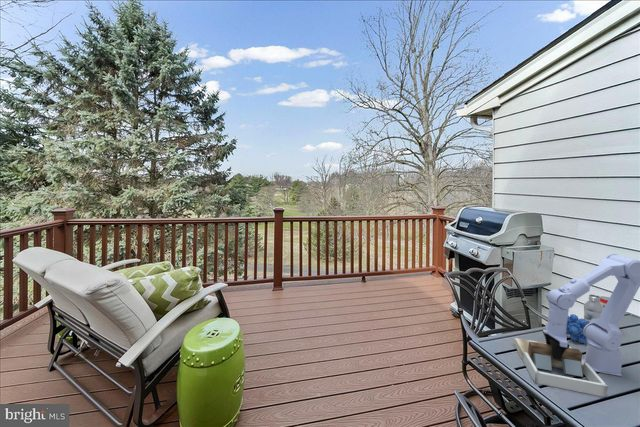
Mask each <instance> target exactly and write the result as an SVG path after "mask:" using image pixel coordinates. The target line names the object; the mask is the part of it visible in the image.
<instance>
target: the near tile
mask: <svg viewBox="0 0 640 427" xmlns="http://www.w3.org/2000/svg"><path fill="white" fill-rule="evenodd" d="M562 364H563V370H562V371H563V374H564V375H570V376H574V377H579V378H580V377H582V378H583V377H584V373H583V372H582V368H581V362H580V361H575V360H569V359H562Z"/></svg>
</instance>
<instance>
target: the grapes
mask: <svg viewBox="0 0 640 427" xmlns="http://www.w3.org/2000/svg"><path fill="white" fill-rule="evenodd" d="M586 325H587V321H586V320H584V318H579V316H578V315H576V314H575V313H573V314H571V313H570V315H568V320H567V329H566V336H569V338H570V339H571V340H572V341H574V342H578V341H579V342H580V343H582V344H587V342H588V341H587V340H586V338H587V337H586V336H585V335H584V333H583V329H584V327H585V326H586Z"/></svg>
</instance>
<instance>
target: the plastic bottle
mask: <svg viewBox="0 0 640 427" xmlns="http://www.w3.org/2000/svg"><path fill="white" fill-rule="evenodd" d="M600 297H601V296H600V295H595V294H589V295H588V300H587V301H586V302H585V303H584V304H583V319H584V320H586V321H587V324H589V322H590V321H591V319H596V318H599V317H600V315H601V313H602V311H603V307H602V305H601V304H600V303H599V302H600Z"/></svg>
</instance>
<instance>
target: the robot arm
mask: <svg viewBox="0 0 640 427" xmlns="http://www.w3.org/2000/svg"><path fill="white" fill-rule="evenodd" d="M610 276H614V277H615V278H616V280H617V283H616V285H615V287H614V289H613V291H612V293H611V294H610V296H609V300H608V302H607V304H606V306H605V308H604V309H603V311H602V313H601V315H600V317H599V318H596V319H591V321H590V322H589V324H587V325H586V326H585V327H584V329H583V333H584V335H585V336H586V337H587V338H586V340H587V343H586V353H585V357H582V360H583V362H584V363H588V364H589V366H590V367H591V368H592V369H593V370H594V371H595V372H596V373H601V374H608V375H613V376H618V377H622V376H623V375H622V374H621V373H622V366H623V354H622V351H621V350H620V346H621V345H622V338H623V336H624V334H623V333H622V331H621V329H620V327H619V326H620V323H621V322H622V320H623V318H624V316H625V314H626V313H627V310H628V309H629V307H630V305H631V303H632V301H633V300H634V298H635V297H636V294H637V293H638V290H639V289H640V260H639V259H634V258H629V257H626V256H622V255H619V254H616V253H611V254H608V255H607V256H606V257H603V258H602V259H601V262H600V264H598V265H597V266H595V268H593V269H592V270H591V271H589V272H587V273H586V275H584V276H583V277H581V278H576V277H575V278H571V279H569V281H568V282H567V283H566V284H564V285H562V286H560V287H559V288H554V289H551V290H549V291H548V292H547V294H546V295H545V297H546V301H547V302H548V313H547V314H548V316H547V323H545V326H544V327H545V329H543V330H542V333H543V335H544V339H545V343H546V344H549V345H551V346H552V355H553V358H554V359H558V360H560V359H561V357H562V355H563V353H564V352H565V350H566V349H568V348H569V347H570V344H569V343H568V341H567V336H568V335H567V334H566V329H567V320H568V316H569V312H570V311H569V310H570V308H573V306H574V305H575V302H576V301H577V299H579V298H581V297H583V296H584V295H586V294H587V293H589V292H590V290H591V289H590V288H591V287H592V286H593V285H595V284H596V283H597V284H598V283H599V282H601V281H602V280H604V279H606V278H608V277H610ZM603 328H604V329H603ZM605 329H606V330H605Z"/></svg>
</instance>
